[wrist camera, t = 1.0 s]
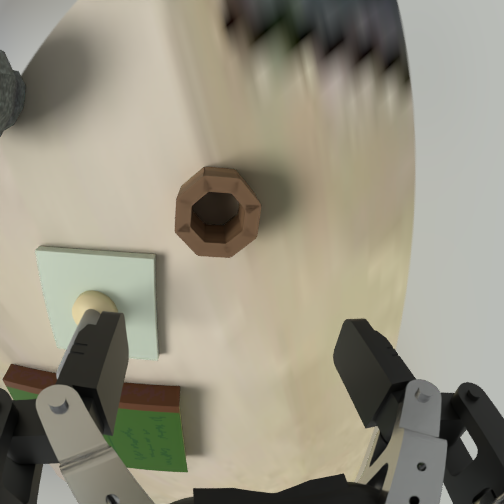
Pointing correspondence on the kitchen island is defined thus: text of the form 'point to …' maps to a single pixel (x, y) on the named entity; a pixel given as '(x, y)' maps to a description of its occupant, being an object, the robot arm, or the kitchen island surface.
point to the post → (99, 295)
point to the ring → (217, 236)
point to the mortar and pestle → (10, 93)
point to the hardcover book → (126, 419)
